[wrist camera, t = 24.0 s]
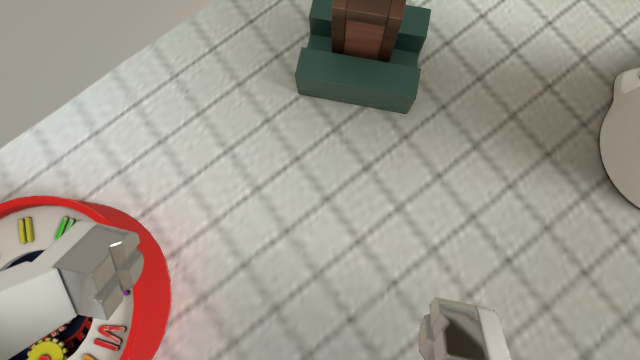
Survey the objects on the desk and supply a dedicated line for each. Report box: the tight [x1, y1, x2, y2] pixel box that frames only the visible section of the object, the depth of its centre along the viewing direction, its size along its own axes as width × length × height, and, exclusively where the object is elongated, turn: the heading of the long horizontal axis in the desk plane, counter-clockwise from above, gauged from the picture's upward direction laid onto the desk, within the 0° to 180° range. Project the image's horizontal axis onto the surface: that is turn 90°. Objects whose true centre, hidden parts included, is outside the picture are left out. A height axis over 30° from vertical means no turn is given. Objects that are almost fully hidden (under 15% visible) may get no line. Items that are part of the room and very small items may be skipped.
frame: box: [332, 0, 406, 63], centre depth 35 cm, size 2×6×9 cm, turn 78°
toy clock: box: [0, 196, 172, 360], centre depth 34 cm, size 20×6×20 cm
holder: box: [295, 0, 431, 114], centre depth 38 cm, size 10×12×4 cm
